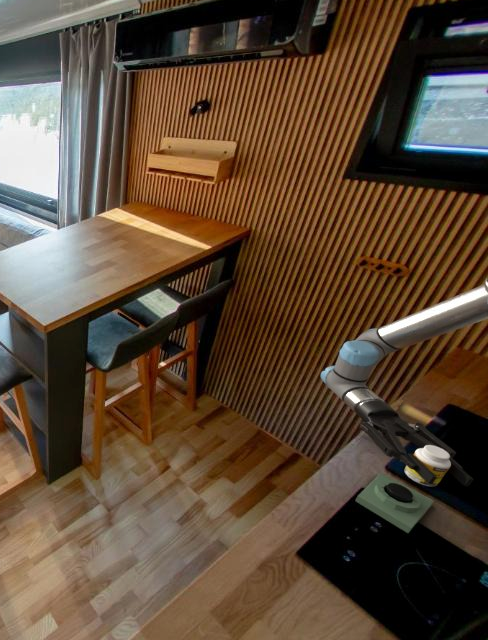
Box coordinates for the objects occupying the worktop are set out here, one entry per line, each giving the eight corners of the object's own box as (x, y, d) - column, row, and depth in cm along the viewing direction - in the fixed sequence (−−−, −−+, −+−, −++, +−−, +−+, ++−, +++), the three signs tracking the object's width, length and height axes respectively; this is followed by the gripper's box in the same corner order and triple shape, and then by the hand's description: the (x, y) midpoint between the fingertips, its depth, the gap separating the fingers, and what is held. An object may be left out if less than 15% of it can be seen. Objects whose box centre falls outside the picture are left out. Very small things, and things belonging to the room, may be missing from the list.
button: (389, 484, 90) (392, 479, 89) (413, 497, 87) (416, 493, 86) (381, 492, 89) (384, 488, 88) (405, 506, 85) (408, 501, 85)
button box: (377, 477, 95) (383, 467, 93) (430, 506, 87) (437, 496, 86) (355, 501, 91) (360, 491, 89) (408, 533, 84) (415, 523, 82)
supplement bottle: (422, 489, 91) (439, 463, 87) (396, 469, 96) (412, 443, 92) (445, 486, 91) (463, 459, 86) (418, 466, 96) (434, 440, 91)
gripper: (406, 418, 106) (495, 494, 86) (328, 416, 110) (395, 488, 90) (416, 399, 102) (511, 474, 82) (335, 398, 107) (406, 468, 87)
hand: (450, 481), depth 86 cm, fingers open, 6 cm apart
